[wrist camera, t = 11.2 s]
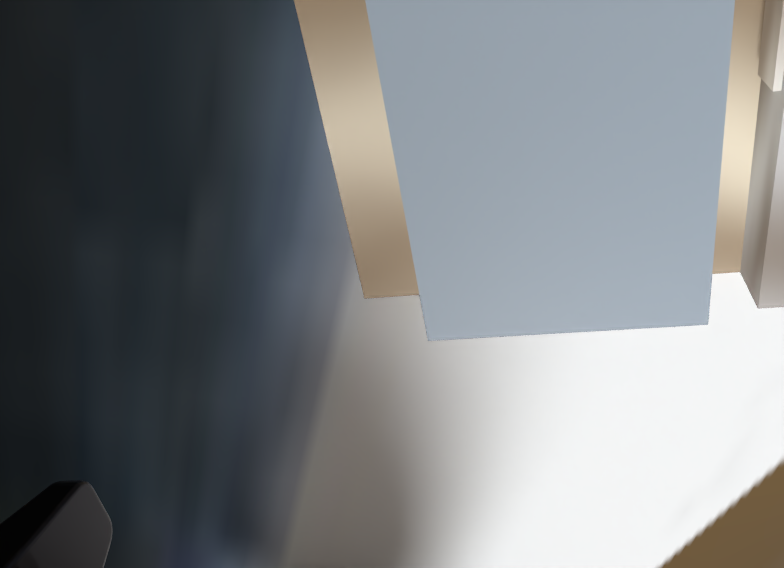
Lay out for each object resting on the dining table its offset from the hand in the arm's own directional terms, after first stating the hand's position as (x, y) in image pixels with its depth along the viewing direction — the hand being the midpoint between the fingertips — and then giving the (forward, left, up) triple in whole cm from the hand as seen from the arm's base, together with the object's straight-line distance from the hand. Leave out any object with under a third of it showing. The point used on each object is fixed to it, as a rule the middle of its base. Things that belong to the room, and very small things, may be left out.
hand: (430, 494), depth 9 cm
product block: (+3, -2, -10) cm, 10 cm away
